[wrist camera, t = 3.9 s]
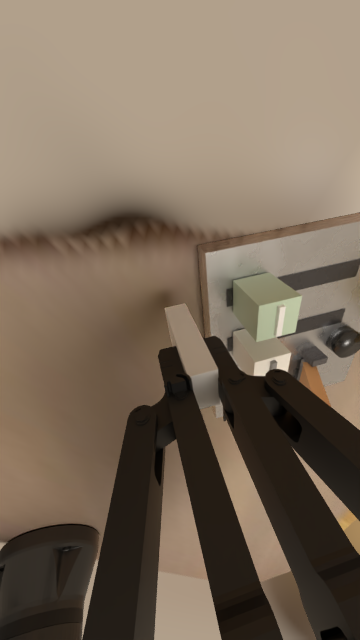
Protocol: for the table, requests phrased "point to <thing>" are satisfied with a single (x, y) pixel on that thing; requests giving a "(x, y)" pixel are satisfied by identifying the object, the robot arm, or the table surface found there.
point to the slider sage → (265, 306)
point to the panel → (305, 278)
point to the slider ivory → (259, 354)
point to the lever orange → (312, 380)
